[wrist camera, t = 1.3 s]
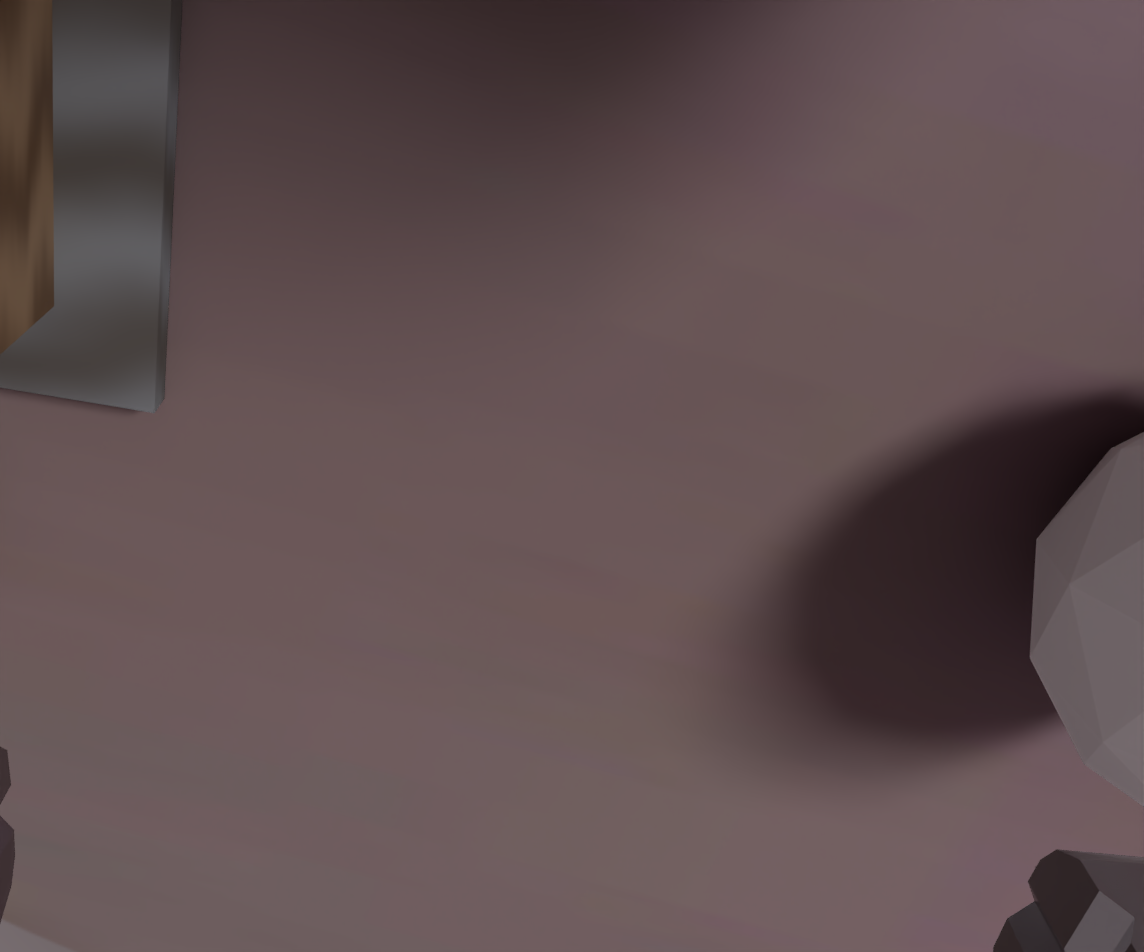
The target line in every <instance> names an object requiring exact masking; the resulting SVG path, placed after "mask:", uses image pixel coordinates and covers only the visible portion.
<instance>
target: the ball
mask: <svg viewBox="0 0 1144 952" xmlns="http://www.w3.org/2000/svg"><path fill="white" fill-rule="evenodd" d="M1030 660H1031V662H1032V664H1033V666H1034V668H1035V670H1036V672H1037V674H1038V675H1039V677H1040V679H1041V681H1042V683H1043V685H1044V687H1045V689H1046V691H1047V693H1048V695H1049V697H1050V699H1051V701H1052V703H1053V705H1054V707H1055V709H1056V711H1057V713H1058V715H1059V717H1060V718H1061V720H1062V722H1063V724H1064V726H1065V728H1066V730H1067V732H1068V734H1069V736H1070V738H1071V740H1072V742H1073V744H1074V746H1075V748H1076V750H1077V752H1078V754H1079V756H1080V758H1081V760H1082V762H1083V763H1084V765H1086V766H1087V767H1089V768H1090V769H1091V770H1093V771H1094V772H1096V773H1097V774H1098V775H1100V776H1101V777H1103V778H1104V779H1105V780H1107V781H1108V782H1110V783H1111V784H1112V785H1114V786H1115V787H1117V788H1118V789H1119V790H1121V791H1122V792H1124V793H1125V794H1126V795H1128V796H1129V797H1131V798H1132V799H1133V800H1135V801H1136V802H1138V803H1139V804H1140V805H1142V806H1143V807H1144V432H1142V433H1140V434H1138V435H1136V436H1134V437H1132V438H1130V439H1128V440H1127V441H1125V442H1123V443H1121V444H1119V445H1117V446H1115V447H1113V448H1111V449H1110V450H1109V451H1108V452H1107V453H1106V455H1105V456H1104V457H1103V458H1102V460H1101V461H1100V462H1099V463H1098V464H1097V466H1096V467H1095V468H1094V469H1093V471H1092V472H1091V473H1090V474H1089V475H1088V477H1087V478H1086V479H1085V480H1084V482H1083V483H1082V484H1081V485H1080V486H1079V488H1078V489H1077V490H1076V491H1075V493H1074V494H1073V495H1072V496H1071V497H1070V499H1069V500H1068V501H1067V502H1066V504H1065V505H1064V506H1063V507H1062V508H1061V510H1060V511H1059V512H1058V513H1057V515H1056V516H1055V517H1054V518H1053V519H1052V521H1051V522H1050V523H1049V524H1048V526H1047V527H1046V528H1045V529H1044V530H1043V532H1042V533H1041V534H1040V535H1039V536H1038V538H1037V539H1036V555H1035V572H1034V590H1033V607H1032V625H1031V642H1030Z"/></svg>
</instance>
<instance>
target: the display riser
mask: <svg viewBox="0 0 1144 952" xmlns="http://www.w3.org/2000/svg"><path fill="white" fill-rule="evenodd" d="M181 19H182V0H0V388H6V389H12V390H18V391H24V392H30V393H36V394H42V395H48V396H54V397H60V398H66V399H72V400H78V401H84V402H90V403H96V404H102V405H109V406H115V407H121V408H127V409H133V410H139V411H145V412H151V413H155V411H156V410H157V408H158V407H159V405H160V404H161V403H162V401H163V400H164V394H165V372H166V350H167V328H168V305H169V283H170V261H171V239H172V217H173V195H174V173H175V151H176V129H177V107H178V85H179V63H180V41H181Z"/></svg>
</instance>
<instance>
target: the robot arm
mask: <svg viewBox="0 0 1144 952" xmlns="http://www.w3.org/2000/svg"><path fill="white" fill-rule="evenodd" d="M10 786H11V780H10V771H9V762H8V753H7V750H6V749H4V748H2V747H0V804H1V802H2V801H3V799H4V797H5V795H6V793H7V791H8V789H9V788H10ZM14 860H15V842H14V829H13V828H12V827H11V826H10V825H9V824H8V823H7V822H6V821H5V820H4V819H3V818H2V817H1V816H0V922H1V919H2V916H3V912H4V909H5V906H6V902H7V899H8V895H9V892H10V889H11V885H12V877H13V868H14ZM1028 883H1029V886H1030V889H1031V892H1032V895H1033V898H1034V902H1033V903H1031V904H1029V905H1028V906H1026V907H1025V908H1023V909H1022V910H1020V911H1018V912H1017V913H1015V914H1014V915H1012V916H1010V917H1009V918H1007V920H1006V922H1005V924H1004V926H1003V928H1002V930H1001V932H1000V935H999V937H998V939H997V941H996V943H995V945H994V947H993V952H1144V857H1137V856H1125V855H1114V854H1103V853H1092V852H1080V851H1069V850H1058V849H1057V850H1055V851H1053V852H1052V853H1050V854H1049V855H1047V856H1046V857H1044V858H1042V859H1041V860H1040V861H1039V863H1038V865H1037V867H1036V868H1035V870H1034V872H1033V873H1032V875H1031V877H1030V879H1029V880H1028Z"/></svg>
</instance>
